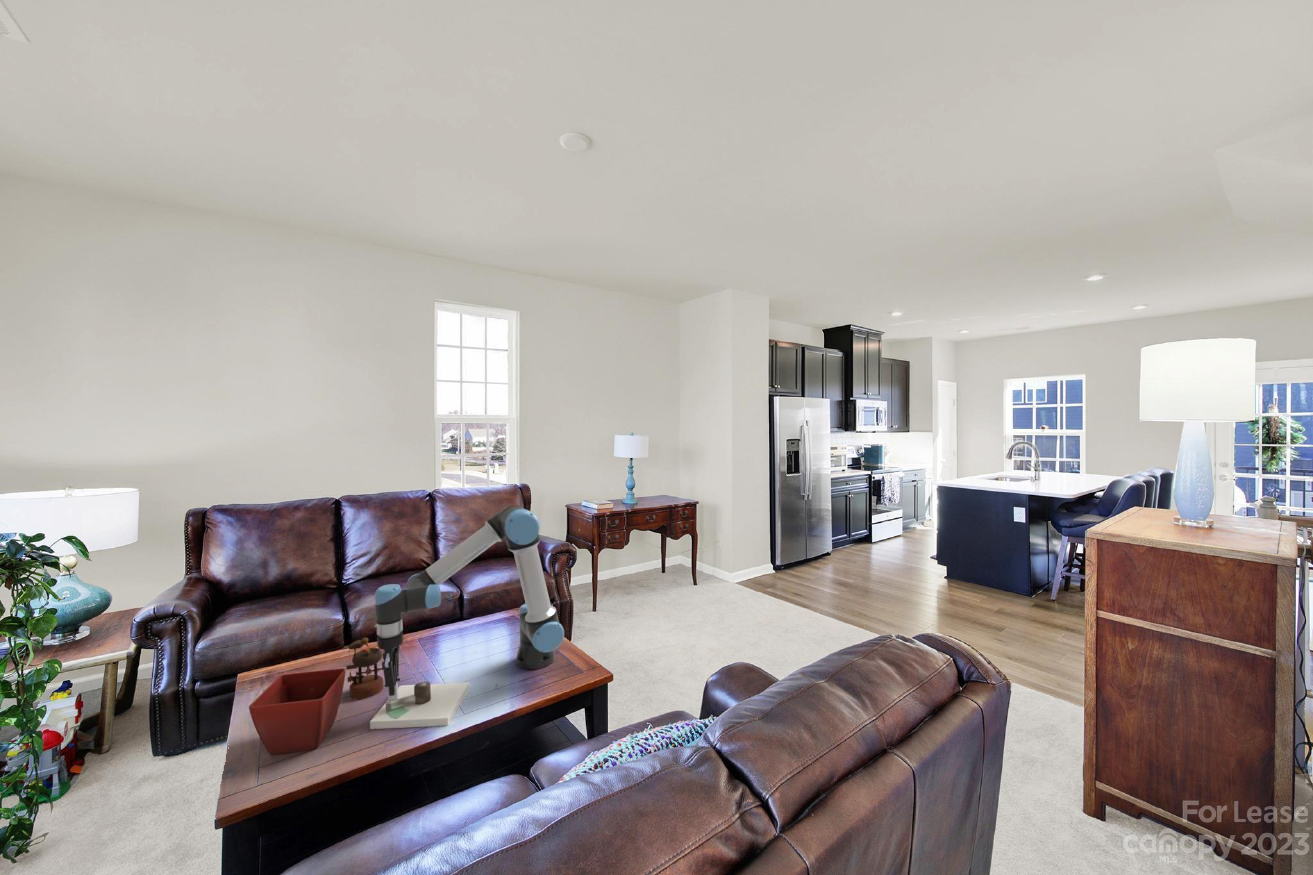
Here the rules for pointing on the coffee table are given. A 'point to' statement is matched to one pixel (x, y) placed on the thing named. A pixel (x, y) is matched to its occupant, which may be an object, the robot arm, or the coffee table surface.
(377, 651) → the music box
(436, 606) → the robot arm
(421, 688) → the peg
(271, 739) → the plant pot
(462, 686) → the board
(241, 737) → the coffee table surface
